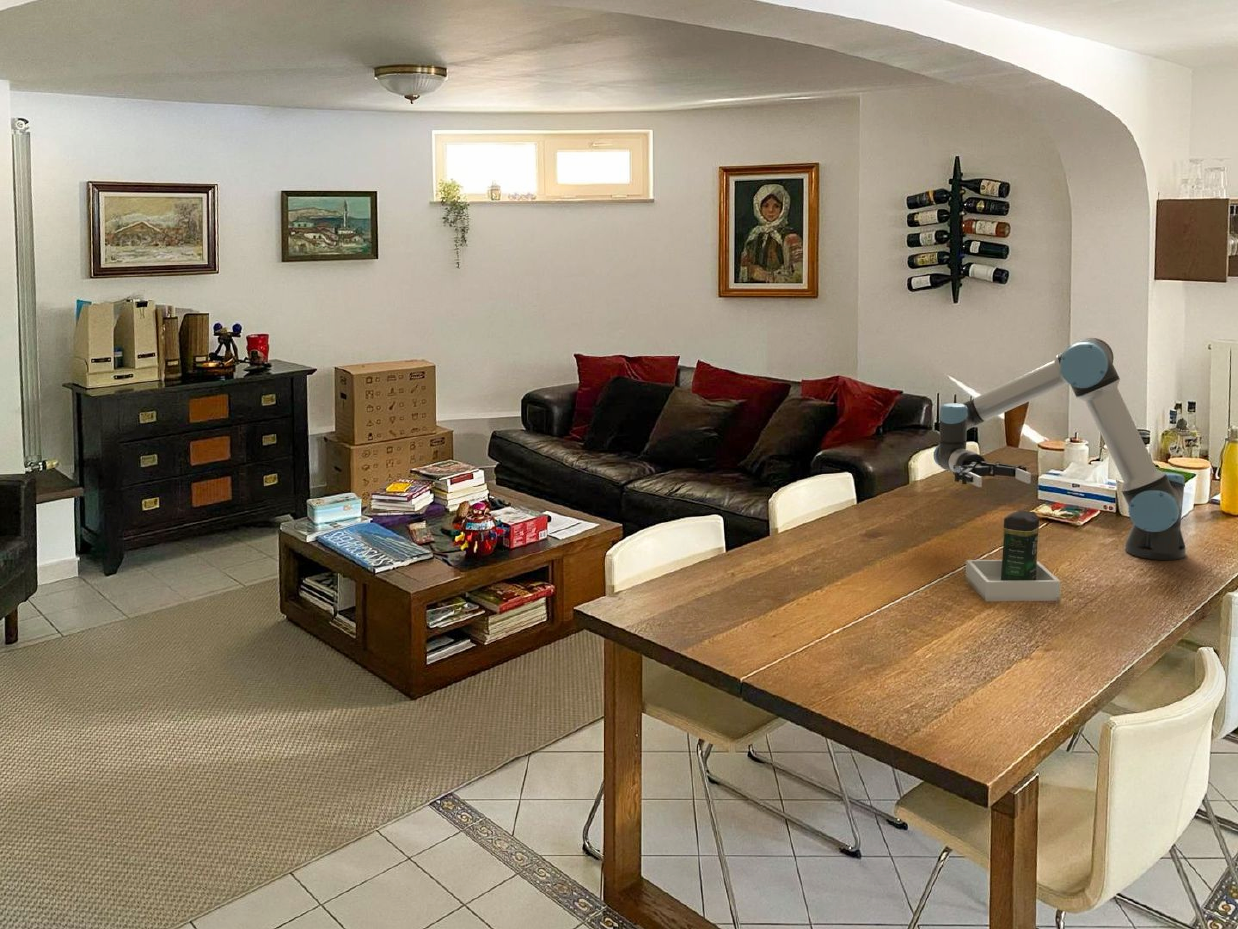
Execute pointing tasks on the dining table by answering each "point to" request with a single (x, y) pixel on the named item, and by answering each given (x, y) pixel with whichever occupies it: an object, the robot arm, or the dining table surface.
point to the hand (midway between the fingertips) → (1005, 480)
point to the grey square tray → (1011, 583)
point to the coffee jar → (1020, 546)
